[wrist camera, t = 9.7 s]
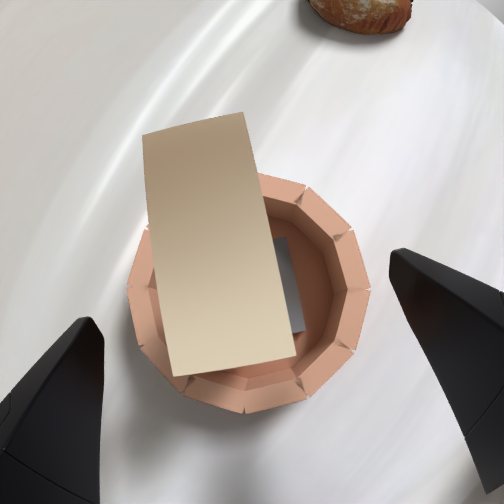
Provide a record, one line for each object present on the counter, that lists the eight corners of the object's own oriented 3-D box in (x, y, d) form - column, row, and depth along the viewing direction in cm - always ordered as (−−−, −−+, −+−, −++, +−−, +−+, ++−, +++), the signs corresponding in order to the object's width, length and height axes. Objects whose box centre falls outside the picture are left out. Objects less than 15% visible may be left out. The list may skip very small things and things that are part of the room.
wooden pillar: (304, 329, 17) (405, 359, 4) (212, 347, 17) (91, 412, 4) (285, 239, 18) (323, 79, 5) (196, 257, 18) (68, 139, 5)
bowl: (247, 430, 16) (243, 453, 13) (118, 290, 18) (90, 284, 15) (385, 293, 17) (410, 288, 14) (251, 164, 19) (248, 134, 16)
